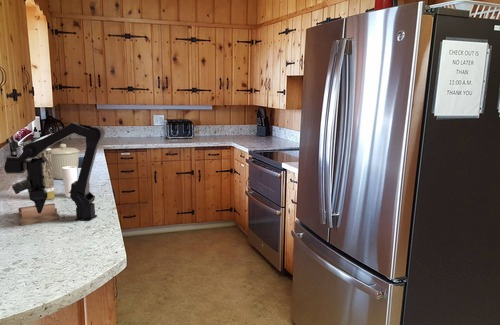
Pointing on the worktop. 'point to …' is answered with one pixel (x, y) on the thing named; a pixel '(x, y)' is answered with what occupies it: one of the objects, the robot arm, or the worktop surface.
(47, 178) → the bark textured cylinder
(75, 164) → the canister
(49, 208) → the peach long block
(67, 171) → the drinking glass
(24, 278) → the worktop surface
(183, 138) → the worktop surface
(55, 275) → the worktop surface
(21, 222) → the brown ridged slab
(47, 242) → the worktop surface
